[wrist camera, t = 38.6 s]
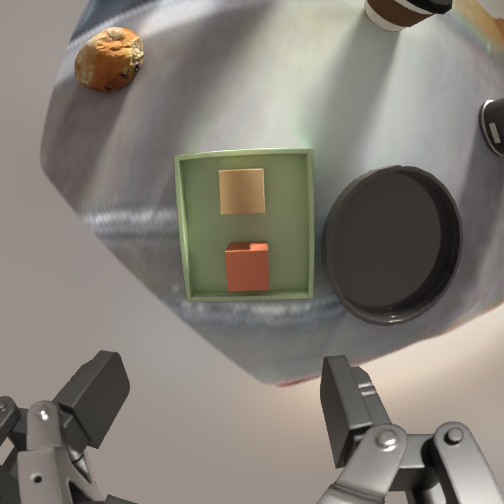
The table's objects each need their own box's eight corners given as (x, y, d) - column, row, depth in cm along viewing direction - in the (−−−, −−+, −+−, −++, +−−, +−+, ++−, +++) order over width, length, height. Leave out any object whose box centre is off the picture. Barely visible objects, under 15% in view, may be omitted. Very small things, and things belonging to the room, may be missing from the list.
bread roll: (134, 40, 29) (101, 15, 22) (165, 49, 26) (126, 16, 19) (95, 89, 31) (57, 70, 24) (116, 108, 28) (71, 84, 21)
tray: (308, 150, 30) (312, 148, 28) (310, 291, 34) (313, 298, 32) (179, 157, 31) (173, 155, 28) (191, 294, 35) (186, 301, 33)
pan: (452, 173, 29) (465, 173, 26) (440, 307, 34) (449, 315, 31) (320, 163, 30) (326, 161, 27) (318, 321, 35) (322, 332, 32)
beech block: (262, 170, 30) (263, 168, 26) (264, 208, 31) (265, 213, 27) (224, 172, 30) (218, 170, 26) (226, 210, 31) (220, 214, 27)
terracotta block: (267, 240, 32) (267, 249, 28) (268, 276, 33) (269, 290, 29) (229, 242, 32) (224, 251, 28) (231, 277, 33) (227, 291, 29)
